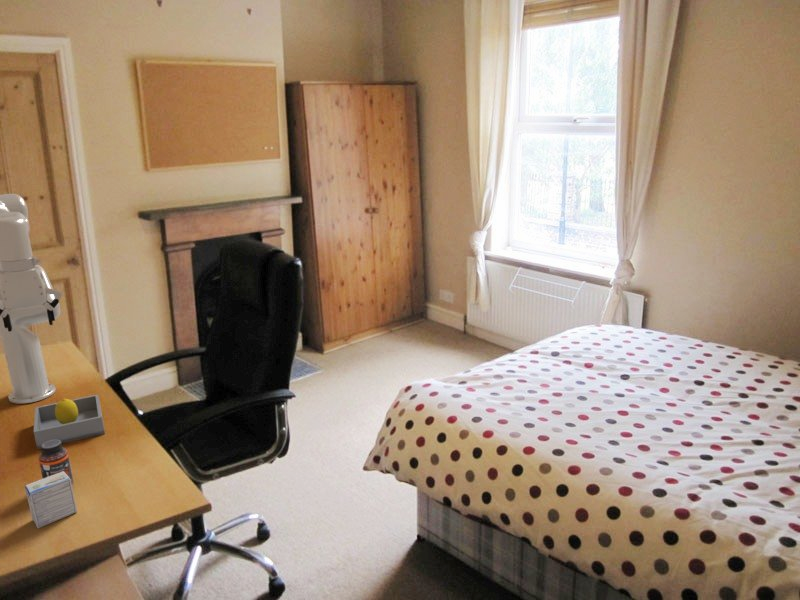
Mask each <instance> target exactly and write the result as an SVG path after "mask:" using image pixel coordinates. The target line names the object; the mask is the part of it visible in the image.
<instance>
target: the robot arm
mask: <svg viewBox="0 0 800 600" xmlns="http://www.w3.org/2000/svg"><path fill="white" fill-rule="evenodd" d="M29 221H30V220H29V209H28V205H27V203H26V201H25V199H24V198H23V197H21V195H20V194H17V193H4V194H0V340H1V345H2V349H3V352H4V357H5V361H6V366H7V370H8V375H9V379H10V383H11V387H12V392H10V393H9V394H8V401H9V402H10V403H13V404H17V405H22V404H30V403H35V402H38V401H42V400H45V399H48V398H49V397H50V396H52V395H54V393H56V389H57V388H56V386H55V385H54V384H53V383H49V380H48V379H49V378H48V375H47V370H46V365H45V361H44V360H45V359H44V356H43V352H42V346H41V341H40V338H39V337H38V335H37V334H36V333H35V332H33V331H32V330H30V329H29V328H27V327H30V326H33V325H37V324H42V323H47V322H48V323H49V326H53V323H54V321H56V319H58V318H59V317H60V314H61V305H60V299H61V297H62V295H63V293H62V291H60V290H57V289H54V288H53V285H52V283H51V281H50V279H49V276H48V274H47V272H46V270H45V269H44V267H42V266H41V265H39V264H41V258H40V257H35V256H34V254H33V249H32V245H31V240H30V236H29V235H30V234H29V233H30V232H31V226H30V222H29Z"/></svg>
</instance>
